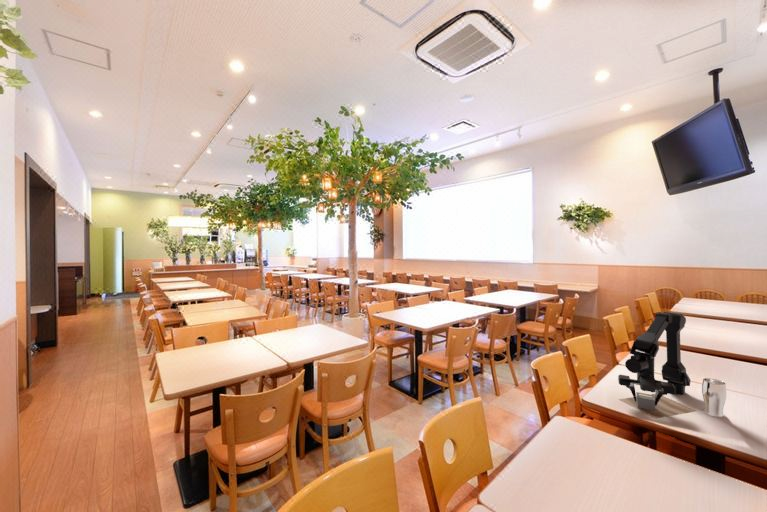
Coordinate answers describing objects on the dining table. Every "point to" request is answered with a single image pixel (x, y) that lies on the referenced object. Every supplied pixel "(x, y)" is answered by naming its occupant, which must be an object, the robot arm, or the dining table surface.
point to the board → (661, 407)
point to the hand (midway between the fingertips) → (645, 403)
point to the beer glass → (714, 396)
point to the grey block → (645, 401)
